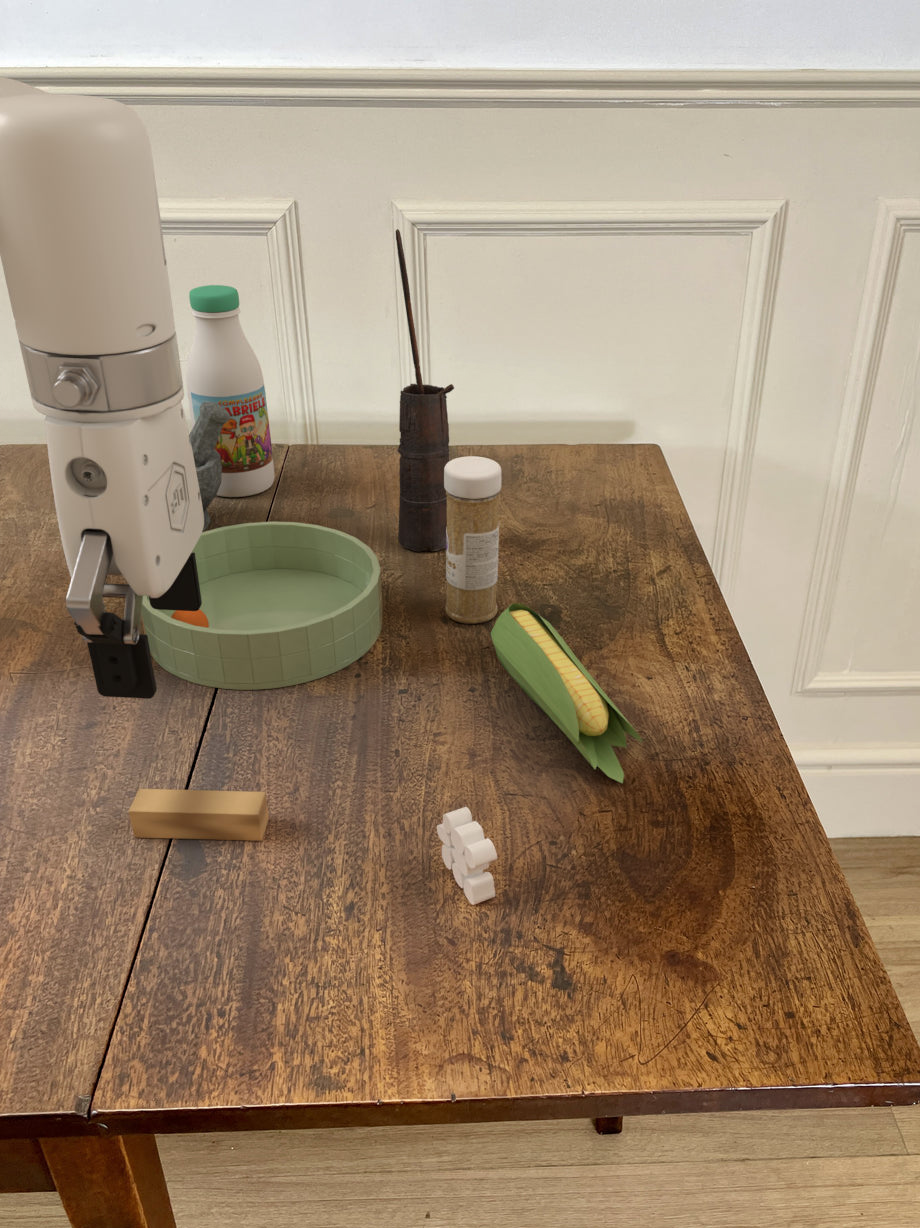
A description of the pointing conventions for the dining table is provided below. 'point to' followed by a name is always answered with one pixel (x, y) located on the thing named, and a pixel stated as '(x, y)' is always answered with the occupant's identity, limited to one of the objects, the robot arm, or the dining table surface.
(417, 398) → the butter churn
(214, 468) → the mortar and pestle
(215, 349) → the milk bottle
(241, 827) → the wooden block
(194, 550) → the bowl
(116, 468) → the robot arm
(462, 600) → the spice jar
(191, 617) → the ball
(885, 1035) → the dining table surface
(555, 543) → the dining table surface
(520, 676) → the edible corn
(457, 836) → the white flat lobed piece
